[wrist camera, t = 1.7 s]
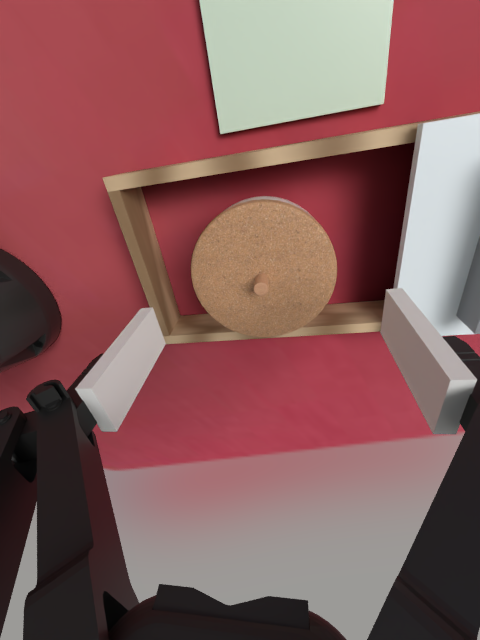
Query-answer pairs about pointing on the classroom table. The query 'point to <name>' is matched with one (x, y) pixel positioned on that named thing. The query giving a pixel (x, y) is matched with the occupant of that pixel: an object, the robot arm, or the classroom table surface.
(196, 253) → the lidded jar
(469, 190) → the lid
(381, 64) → the mat
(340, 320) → the wooden rectangular frame
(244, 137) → the classroom table surface
